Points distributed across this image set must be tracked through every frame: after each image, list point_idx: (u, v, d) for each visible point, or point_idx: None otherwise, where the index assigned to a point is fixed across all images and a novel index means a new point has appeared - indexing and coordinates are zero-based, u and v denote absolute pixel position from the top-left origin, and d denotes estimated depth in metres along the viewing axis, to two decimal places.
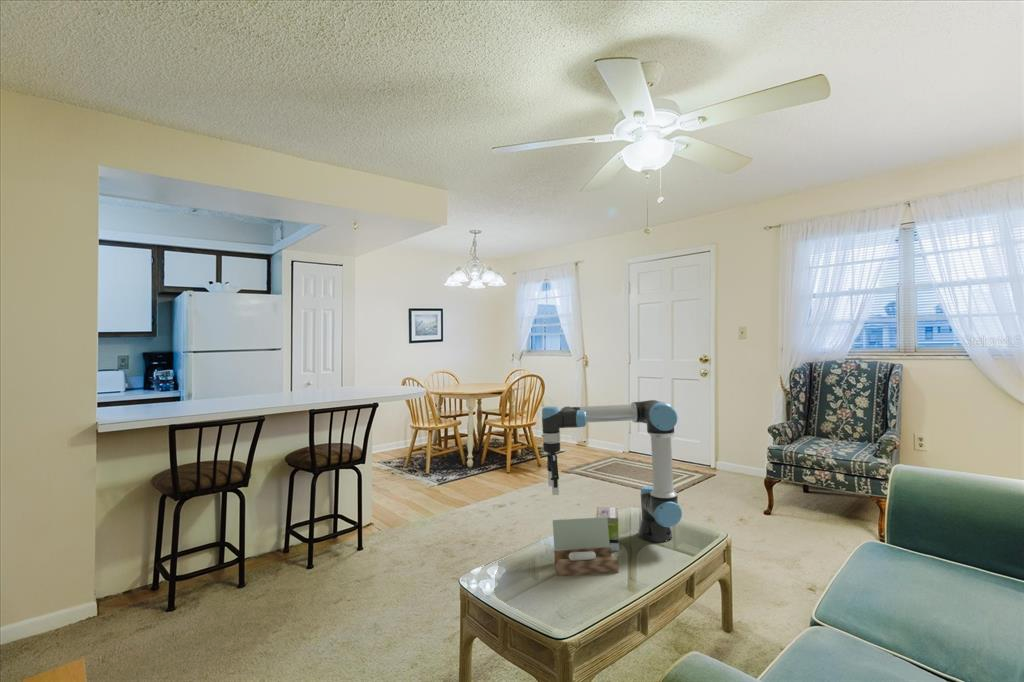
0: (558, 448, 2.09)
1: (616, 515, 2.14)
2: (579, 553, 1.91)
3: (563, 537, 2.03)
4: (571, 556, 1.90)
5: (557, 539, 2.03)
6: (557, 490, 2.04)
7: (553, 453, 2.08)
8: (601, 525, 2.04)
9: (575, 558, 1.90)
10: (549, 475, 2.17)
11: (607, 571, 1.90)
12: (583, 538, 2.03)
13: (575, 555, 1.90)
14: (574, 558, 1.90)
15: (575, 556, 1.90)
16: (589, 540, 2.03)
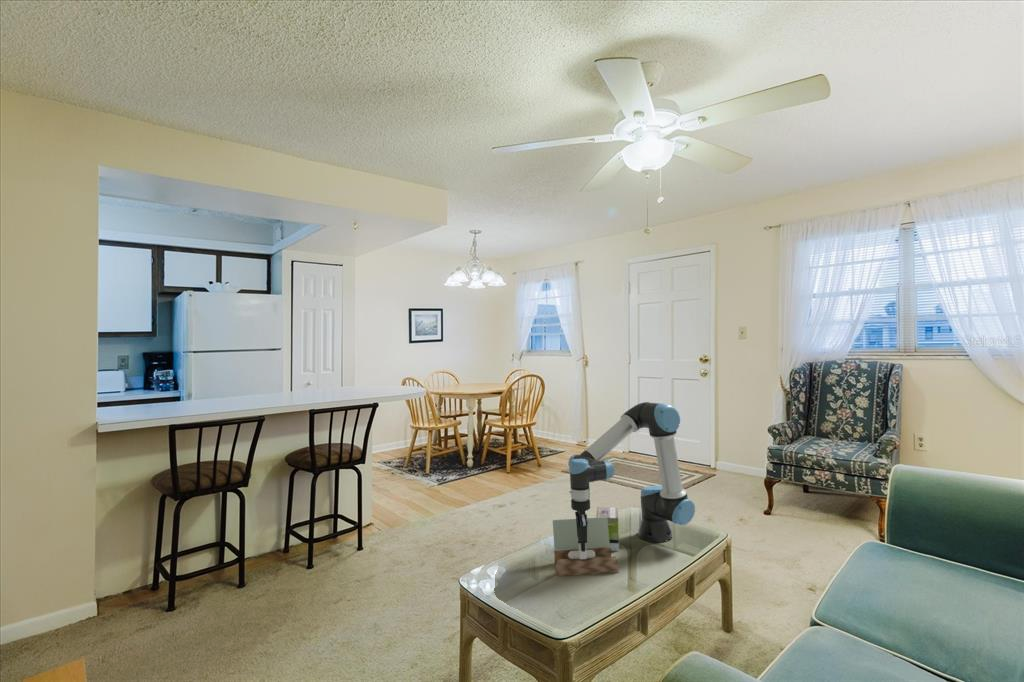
0: (588, 506, 1.89)
1: (616, 515, 2.14)
2: (578, 551, 1.93)
3: (563, 537, 2.03)
4: (570, 552, 1.92)
5: (557, 539, 2.03)
6: (585, 554, 1.90)
7: (583, 512, 1.88)
8: (601, 525, 2.04)
9: (574, 554, 1.92)
10: None
11: (607, 571, 1.90)
12: None
13: (574, 551, 1.93)
14: (573, 554, 1.92)
15: (574, 552, 1.92)
16: (589, 540, 2.03)
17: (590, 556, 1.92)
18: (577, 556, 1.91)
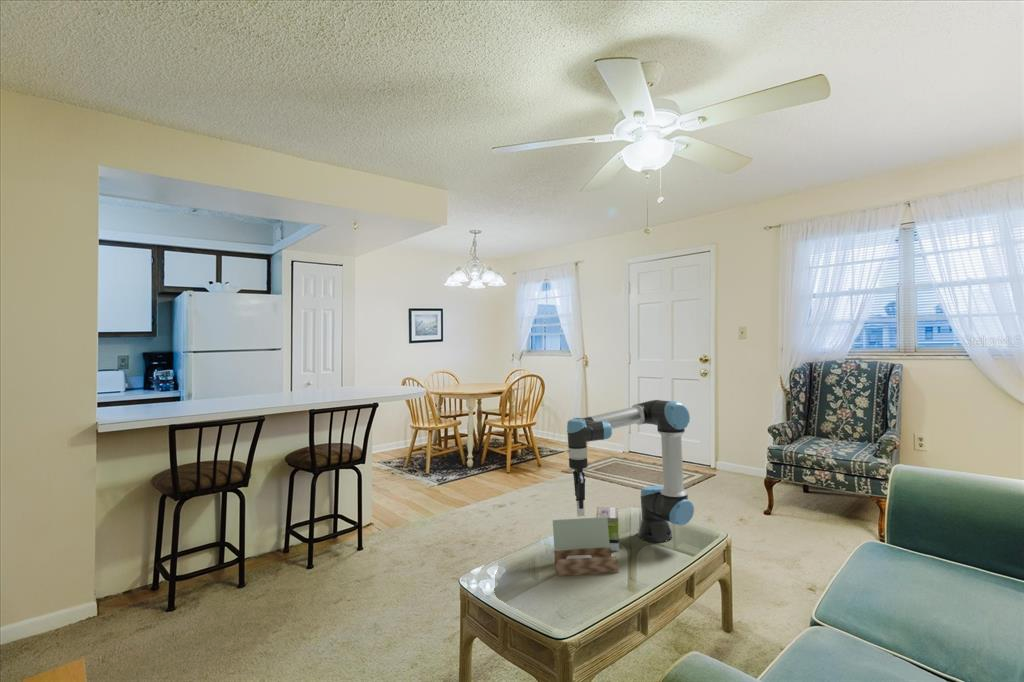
0: (586, 464, 1.93)
1: (616, 515, 2.14)
2: (576, 557, 1.98)
3: (563, 537, 2.03)
4: None
5: (557, 539, 2.03)
6: (583, 511, 1.94)
7: (580, 470, 1.91)
8: (601, 525, 2.04)
9: None
10: None
11: (607, 571, 1.90)
12: (583, 538, 2.03)
13: None
14: None
15: None
16: (589, 540, 2.03)
17: None
18: None
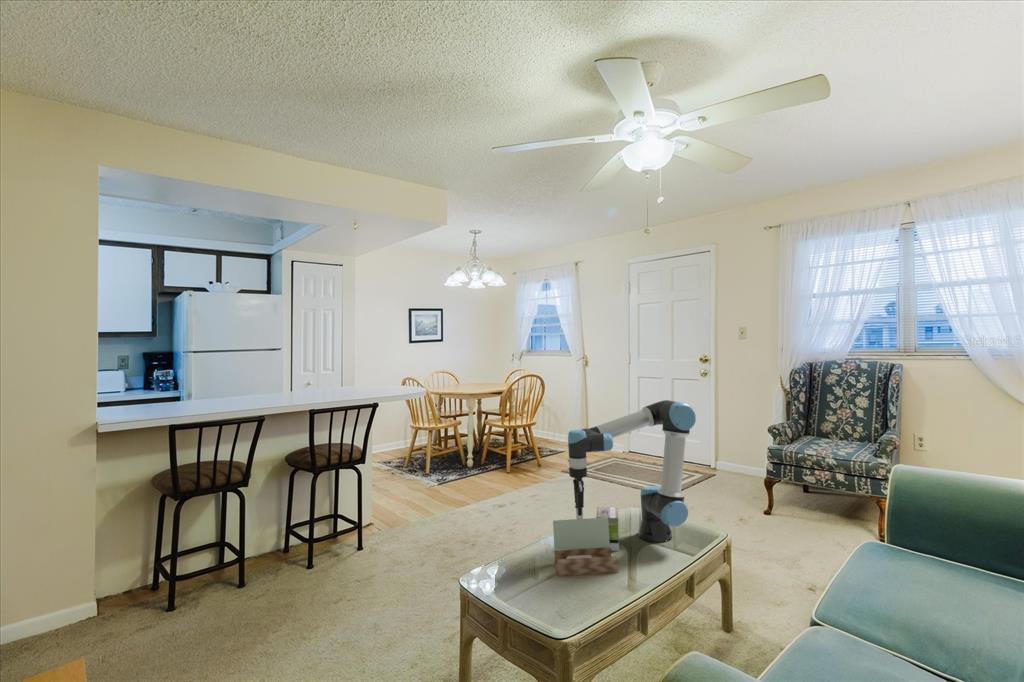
0: (585, 474, 2.02)
1: (616, 515, 2.14)
2: (576, 558, 1.98)
3: (564, 537, 2.02)
4: None
5: (557, 539, 2.02)
6: (582, 518, 2.04)
7: (580, 479, 2.01)
8: (602, 526, 2.03)
9: None
10: None
11: (607, 571, 1.90)
12: (583, 538, 2.03)
13: None
14: None
15: None
16: (589, 540, 2.03)
17: None
18: None
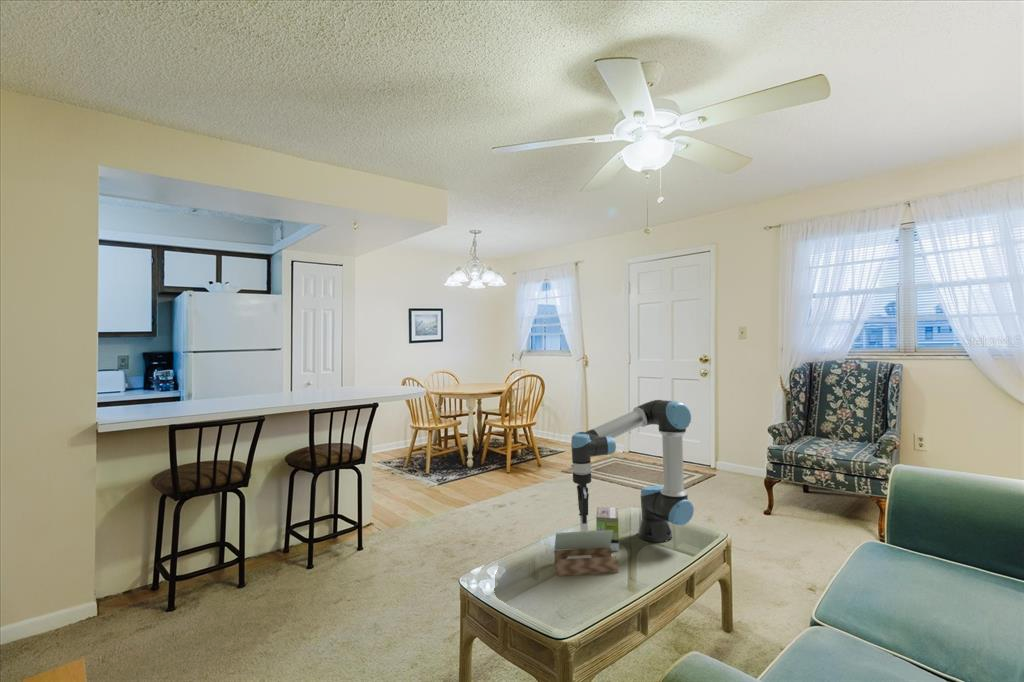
0: (589, 479, 1.94)
1: (616, 515, 2.14)
2: (576, 558, 1.98)
3: (565, 543, 1.99)
4: None
5: (558, 544, 1.99)
6: (586, 526, 1.95)
7: (584, 485, 1.92)
8: (605, 536, 1.97)
9: None
10: None
11: (607, 571, 1.90)
12: (585, 543, 2.00)
13: None
14: None
15: None
16: (590, 544, 2.00)
17: None
18: None
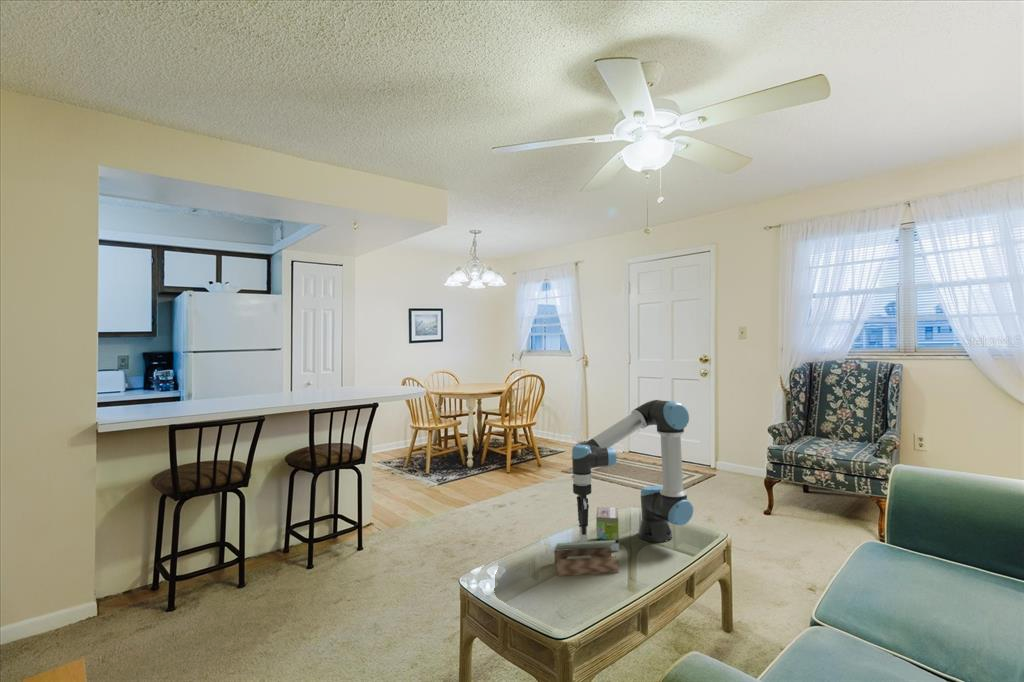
0: (589, 491, 1.94)
1: (616, 515, 2.14)
2: None
3: (565, 547, 1.98)
4: None
5: (559, 548, 1.98)
6: (586, 537, 1.95)
7: (584, 496, 1.93)
8: (607, 543, 1.95)
9: None
10: None
11: (607, 571, 1.90)
12: (585, 546, 1.99)
13: None
14: None
15: None
16: (591, 546, 2.00)
17: None
18: None
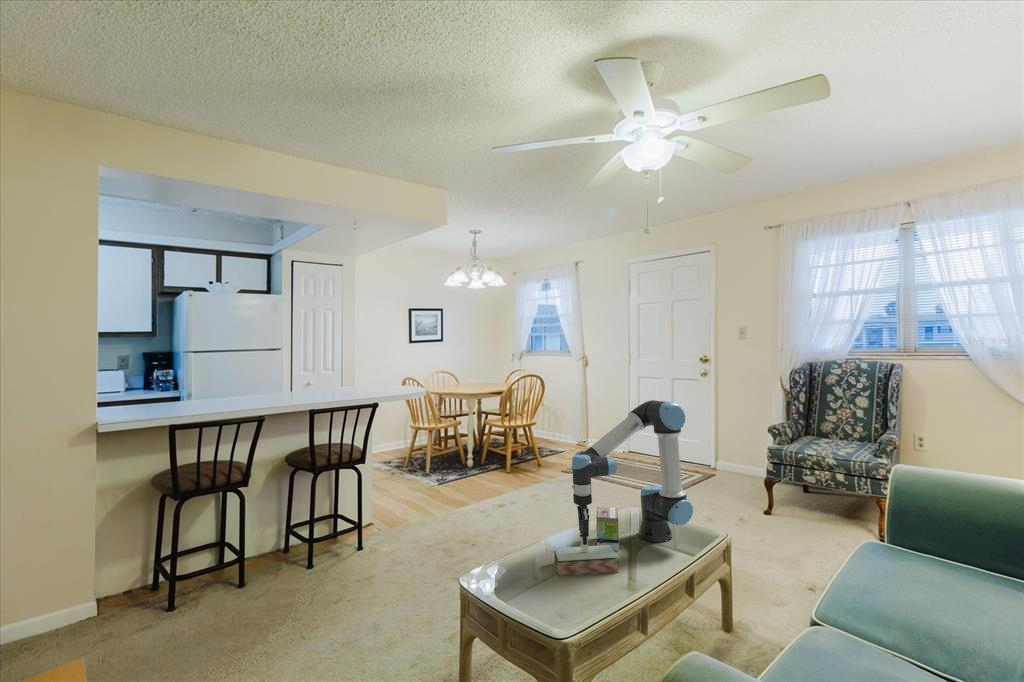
0: (590, 501, 1.94)
1: (616, 515, 2.14)
2: None
3: None
4: None
5: None
6: (587, 547, 1.95)
7: (585, 506, 1.93)
8: None
9: None
10: None
11: (607, 571, 1.90)
12: None
13: None
14: None
15: None
16: None
17: None
18: None
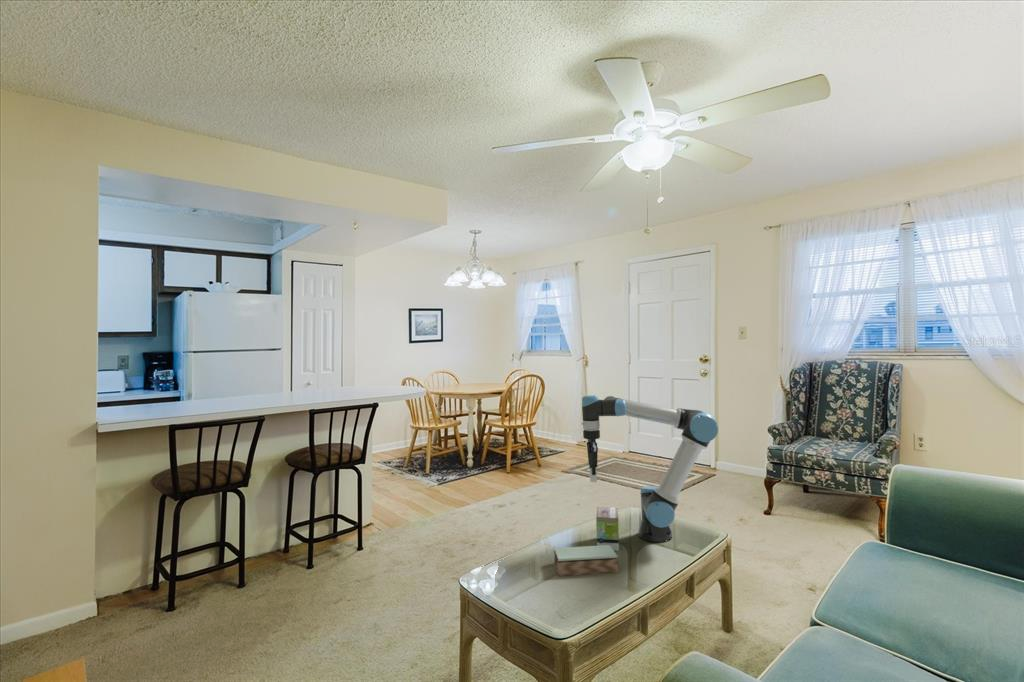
0: (598, 435, 2.15)
1: (616, 515, 2.14)
2: None
3: None
4: None
5: None
6: (596, 477, 2.17)
7: (593, 440, 2.14)
8: None
9: None
10: None
11: (607, 571, 1.90)
12: None
13: None
14: None
15: None
16: None
17: None
18: None
